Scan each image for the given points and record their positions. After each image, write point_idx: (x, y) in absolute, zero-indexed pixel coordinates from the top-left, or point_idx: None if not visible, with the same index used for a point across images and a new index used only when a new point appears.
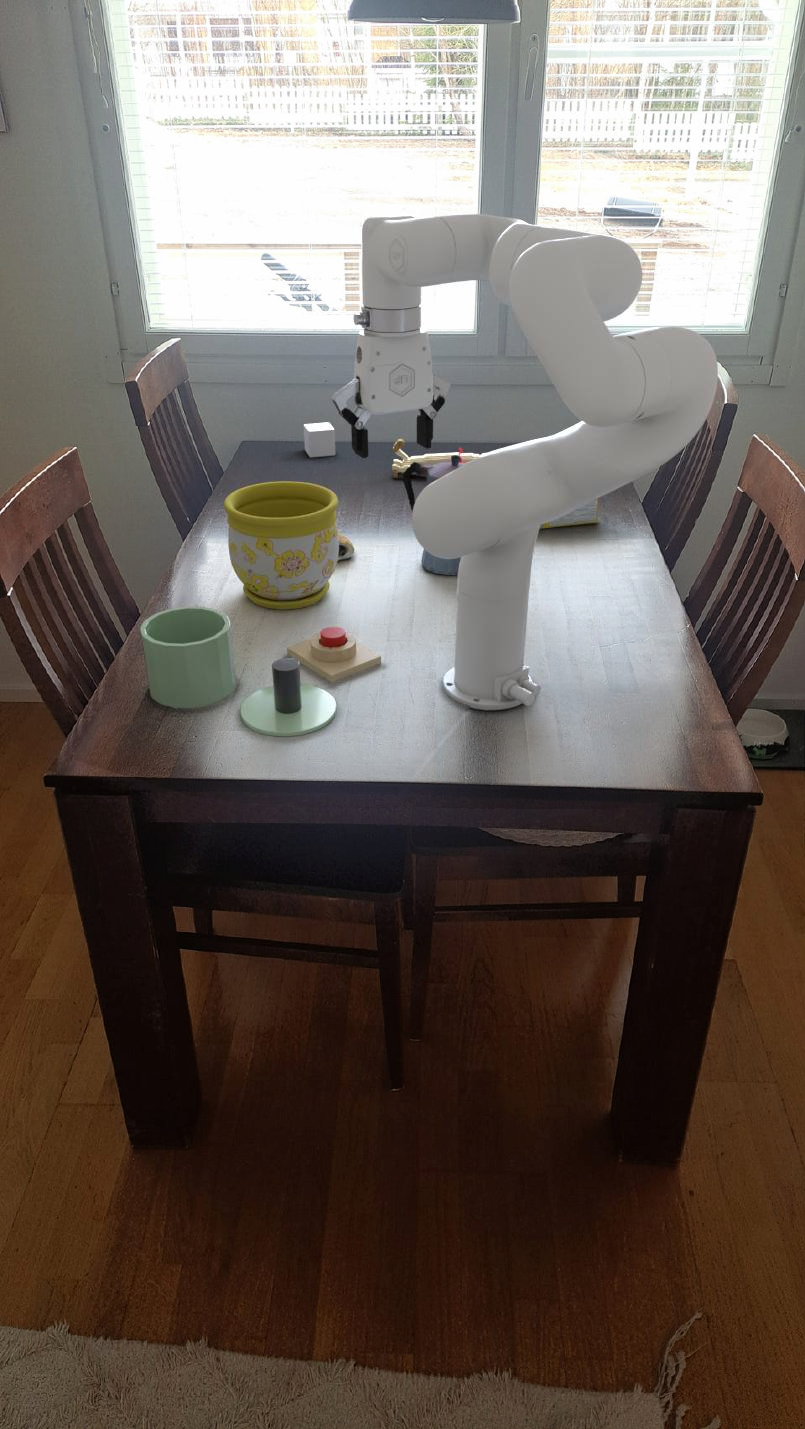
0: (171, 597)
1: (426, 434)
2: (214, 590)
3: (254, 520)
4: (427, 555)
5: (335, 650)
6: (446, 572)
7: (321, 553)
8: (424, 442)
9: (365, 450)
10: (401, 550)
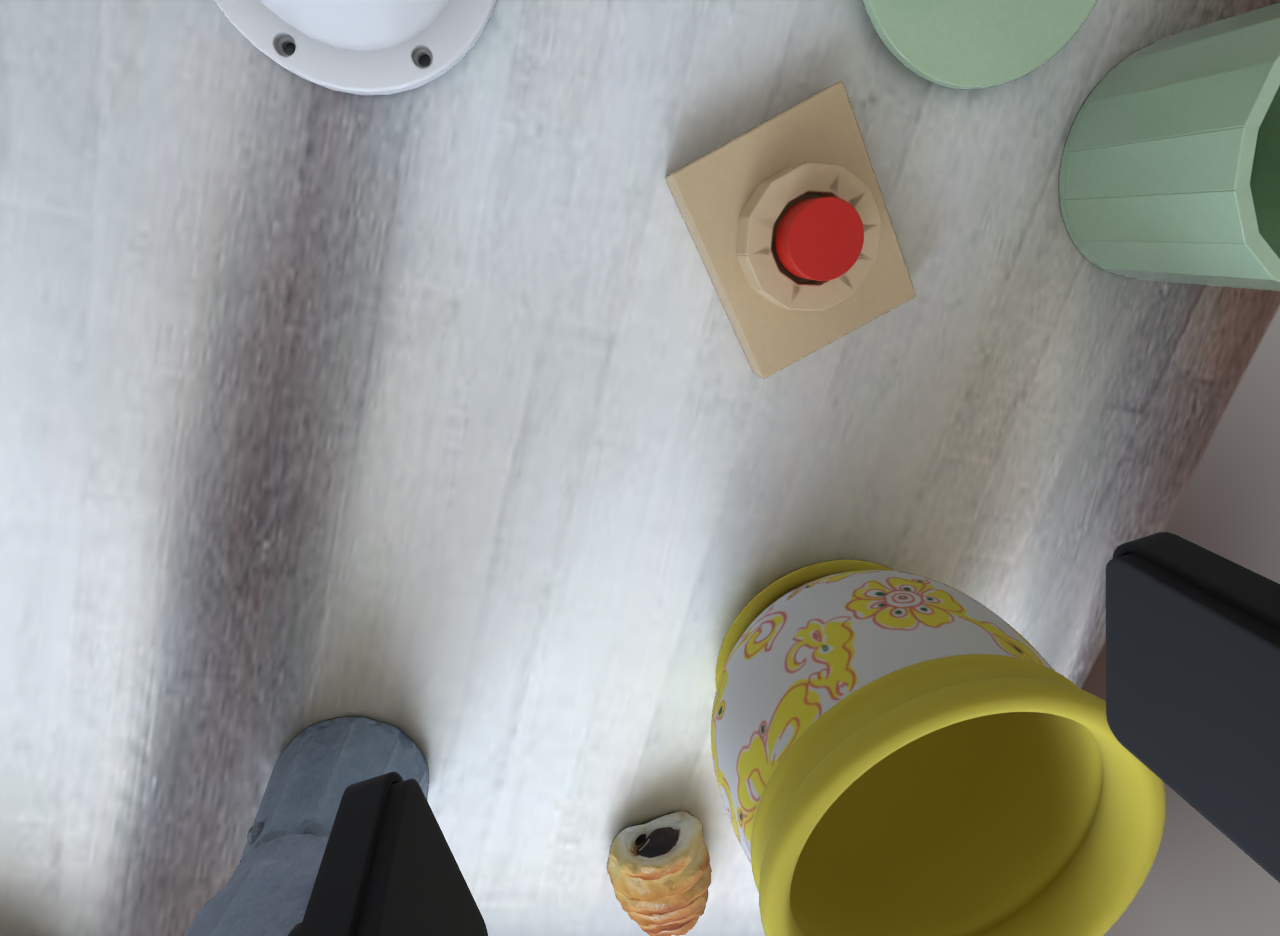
0: (1076, 663)
1: (377, 924)
2: None
3: None
4: None
5: (823, 167)
6: (362, 722)
7: (810, 645)
8: (419, 848)
9: (1213, 571)
10: (471, 871)
